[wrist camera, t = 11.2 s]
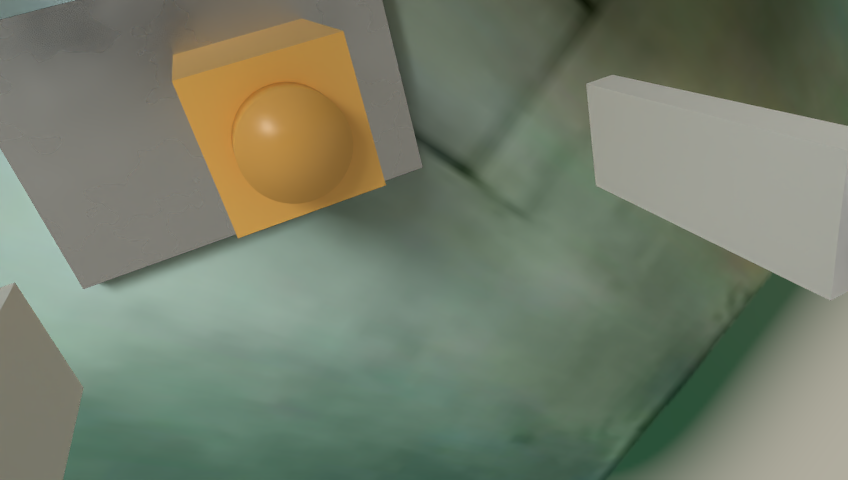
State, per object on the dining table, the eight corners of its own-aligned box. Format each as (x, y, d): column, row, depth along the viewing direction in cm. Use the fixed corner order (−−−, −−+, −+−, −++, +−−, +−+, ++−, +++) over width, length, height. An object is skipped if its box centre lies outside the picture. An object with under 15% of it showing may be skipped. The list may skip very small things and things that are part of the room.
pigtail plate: (86, 278, 30) (67, 342, 25) (-56, 33, 24) (-120, 48, 19) (415, 161, 34) (459, 195, 29) (357, -71, 28) (399, -83, 23)
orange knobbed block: (223, 178, 29) (241, 254, 21) (172, 54, 27) (171, 88, 18) (338, 139, 31) (397, 196, 22) (302, 18, 28) (354, 34, 20)
